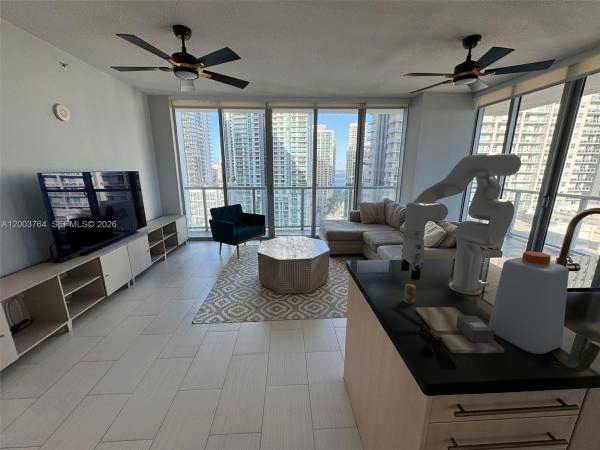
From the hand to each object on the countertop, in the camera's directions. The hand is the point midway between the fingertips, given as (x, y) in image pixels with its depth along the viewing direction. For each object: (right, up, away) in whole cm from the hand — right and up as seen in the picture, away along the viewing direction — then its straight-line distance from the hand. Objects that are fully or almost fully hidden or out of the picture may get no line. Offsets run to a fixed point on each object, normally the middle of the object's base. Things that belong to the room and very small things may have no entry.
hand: (409, 274), depth 101 cm
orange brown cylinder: (+1, -12, +2) cm, 12 cm away
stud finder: (+11, -14, -22) cm, 28 cm away
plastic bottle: (+27, -16, -21) cm, 38 cm away
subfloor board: (+8, -15, -16) cm, 23 cm away
